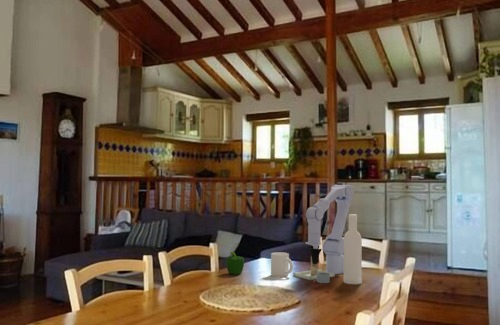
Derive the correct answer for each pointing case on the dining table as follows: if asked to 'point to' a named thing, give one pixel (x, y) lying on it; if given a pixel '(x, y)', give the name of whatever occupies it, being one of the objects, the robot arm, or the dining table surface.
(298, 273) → the tray
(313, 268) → the dowel
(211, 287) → the dining table surface
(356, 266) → the bottle
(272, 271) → the mug
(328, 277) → the cup
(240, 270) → the bell pepper
